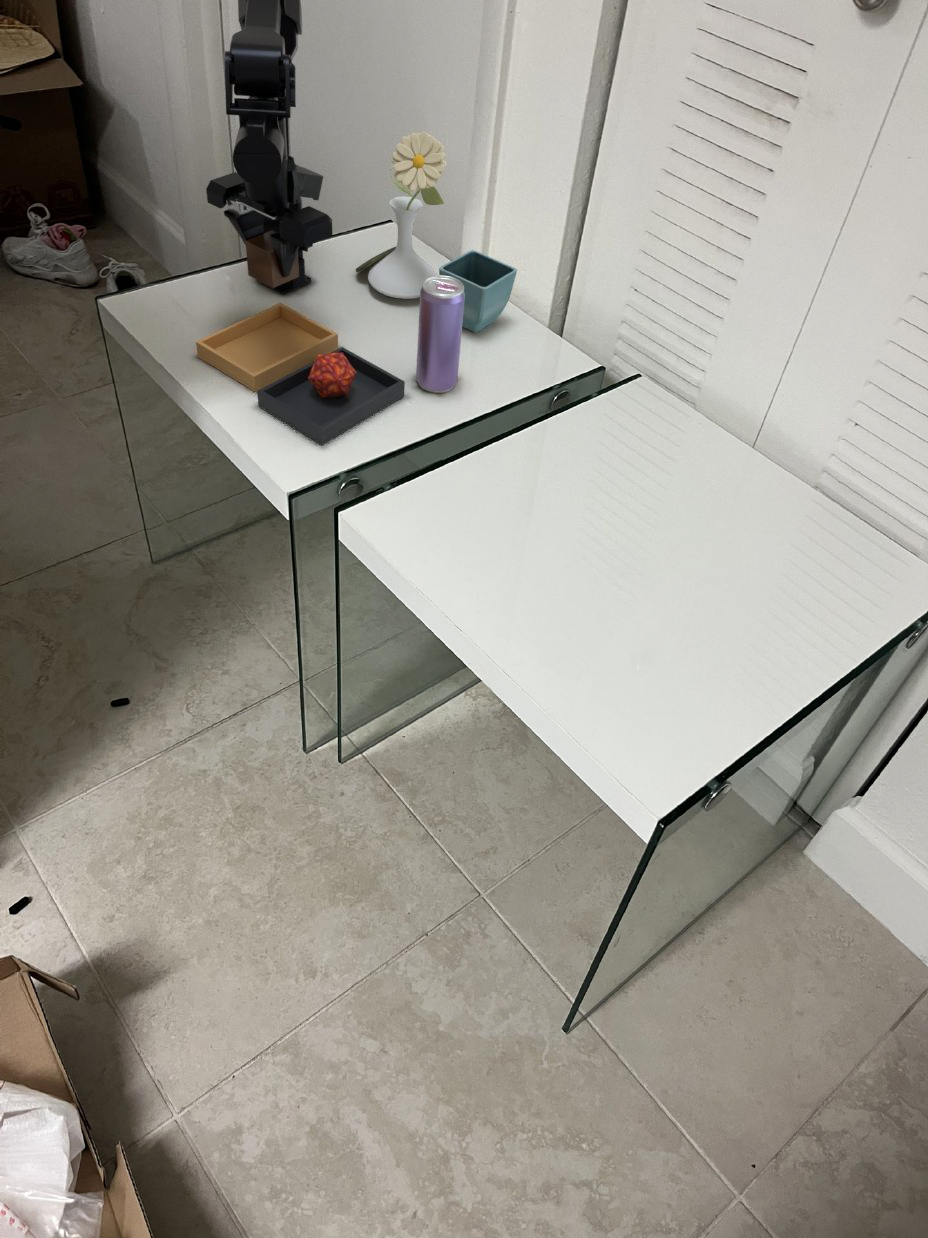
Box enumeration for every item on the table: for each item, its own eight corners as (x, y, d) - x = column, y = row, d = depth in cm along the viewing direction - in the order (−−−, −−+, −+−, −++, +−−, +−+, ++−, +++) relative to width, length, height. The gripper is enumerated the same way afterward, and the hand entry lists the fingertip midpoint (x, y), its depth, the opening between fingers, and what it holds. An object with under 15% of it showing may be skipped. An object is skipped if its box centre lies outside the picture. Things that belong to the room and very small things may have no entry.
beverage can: (452, 397, 134) (460, 299, 123) (411, 390, 134) (416, 292, 123) (460, 375, 138) (469, 278, 127) (421, 368, 138) (426, 271, 127)
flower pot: (512, 322, 149) (518, 268, 143) (479, 343, 144) (485, 288, 138) (467, 302, 153) (472, 248, 146) (434, 322, 147) (437, 267, 141)
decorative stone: (349, 395, 135) (360, 405, 128) (302, 391, 133) (311, 402, 126) (352, 349, 133) (363, 357, 126) (304, 345, 131) (313, 353, 124)
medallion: (394, 244, 149) (397, 249, 150) (402, 247, 157) (404, 251, 157) (351, 269, 151) (353, 273, 151) (360, 270, 159) (362, 274, 159)
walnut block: (248, 275, 132) (245, 240, 129) (274, 264, 135) (272, 229, 132) (273, 288, 131) (270, 253, 127) (299, 276, 133) (297, 242, 130)
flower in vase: (353, 286, 153) (352, 121, 134) (401, 264, 159) (406, 104, 141) (412, 317, 148) (419, 151, 129) (460, 293, 154) (473, 131, 136)
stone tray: (258, 406, 129) (256, 390, 127) (342, 361, 138) (342, 346, 136) (321, 445, 124) (321, 429, 122) (404, 396, 133) (404, 381, 131)
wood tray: (197, 356, 136) (195, 341, 134) (281, 317, 145) (280, 302, 143) (255, 392, 131) (254, 376, 129) (338, 348, 140) (338, 333, 138)
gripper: (361, 159, 122) (361, 274, 133) (261, 117, 129) (269, 230, 140) (298, 182, 115) (304, 301, 127) (197, 137, 123) (211, 253, 134)
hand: (272, 269), depth 132 cm, fingers closed on walnut block, 5 cm apart
